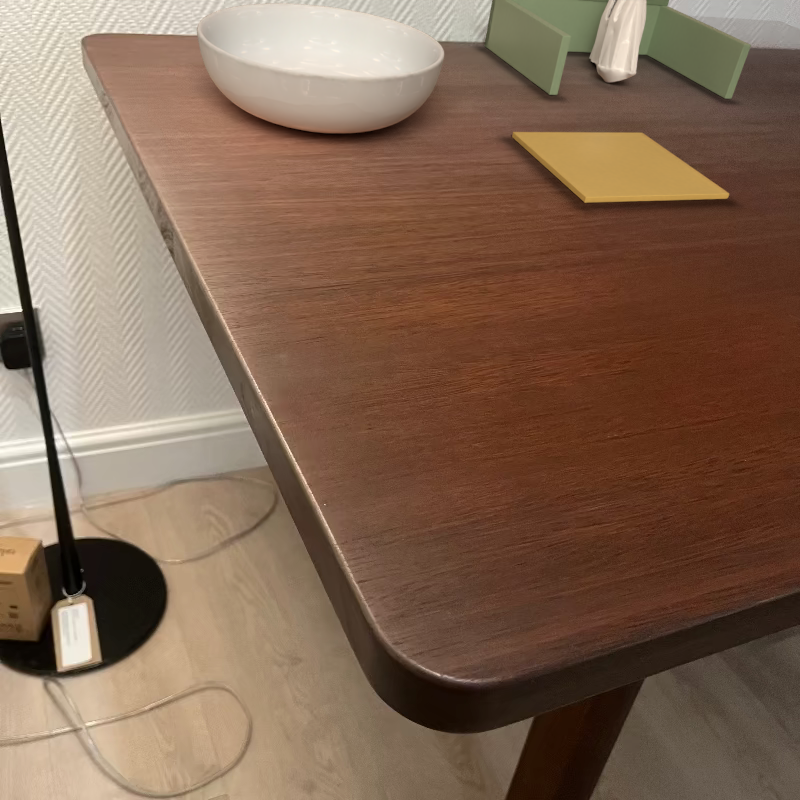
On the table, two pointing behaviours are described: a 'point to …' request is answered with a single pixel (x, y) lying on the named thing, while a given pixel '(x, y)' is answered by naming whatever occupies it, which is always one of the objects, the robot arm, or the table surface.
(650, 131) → the table surface
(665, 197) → the board
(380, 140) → the table surface
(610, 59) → the white ridged piece
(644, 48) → the cubby
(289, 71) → the serving bowl
